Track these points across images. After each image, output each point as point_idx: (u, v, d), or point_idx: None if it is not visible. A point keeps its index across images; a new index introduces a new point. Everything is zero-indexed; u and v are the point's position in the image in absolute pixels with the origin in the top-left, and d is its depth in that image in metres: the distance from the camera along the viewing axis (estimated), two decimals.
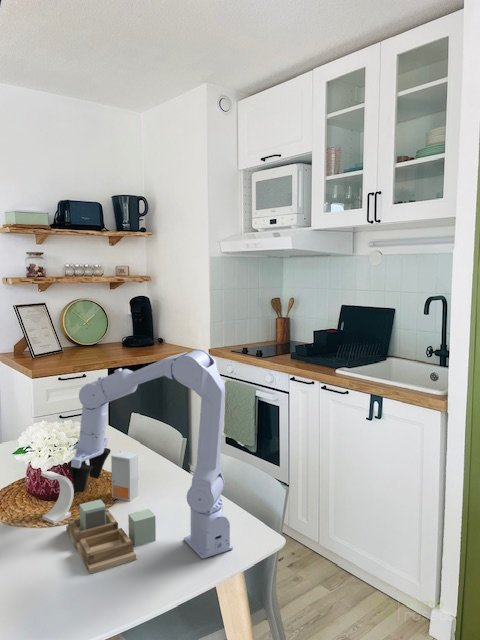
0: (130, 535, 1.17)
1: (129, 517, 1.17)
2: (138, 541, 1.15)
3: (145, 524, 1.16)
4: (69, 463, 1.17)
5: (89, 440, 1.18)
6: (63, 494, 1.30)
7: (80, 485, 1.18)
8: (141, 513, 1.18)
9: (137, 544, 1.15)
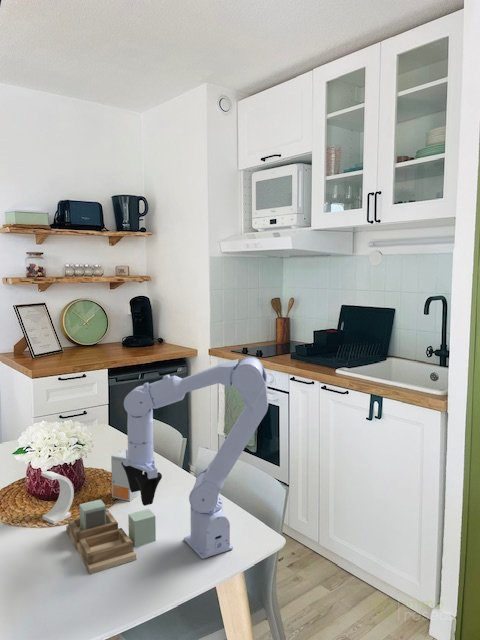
0: (130, 535, 1.17)
1: (129, 517, 1.17)
2: (138, 541, 1.15)
3: (145, 524, 1.16)
4: (140, 478, 1.10)
5: (148, 449, 1.13)
6: (63, 494, 1.30)
7: (150, 497, 1.13)
8: (141, 513, 1.18)
9: (137, 544, 1.15)
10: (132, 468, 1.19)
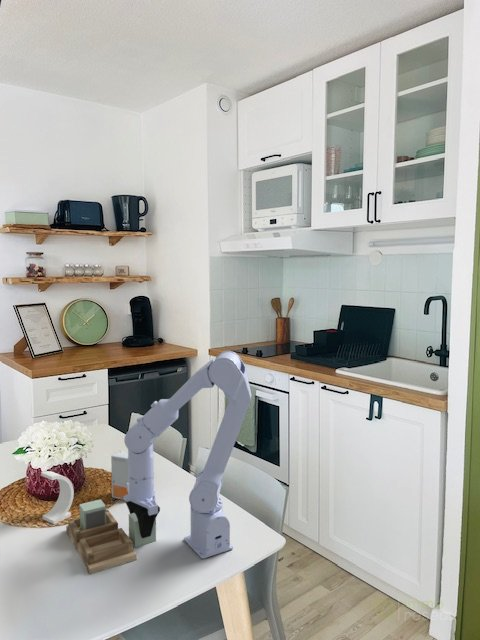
0: (130, 535, 1.17)
1: (129, 517, 1.17)
2: (138, 541, 1.15)
3: None
4: (139, 512, 1.12)
5: (148, 484, 1.14)
6: (63, 494, 1.30)
7: (148, 529, 1.15)
8: None
9: (137, 544, 1.15)
10: (135, 504, 1.19)
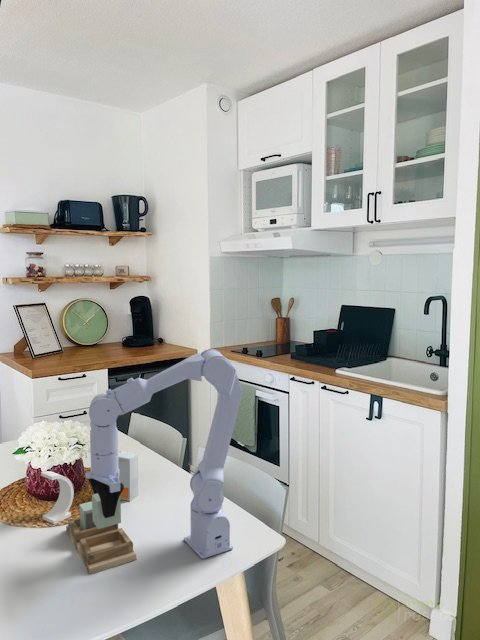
0: (94, 517, 1.10)
1: (92, 498, 1.10)
2: (101, 523, 1.08)
3: None
4: (100, 489, 1.05)
5: (111, 460, 1.07)
6: (63, 494, 1.30)
7: (111, 509, 1.08)
8: None
9: (100, 526, 1.08)
10: (98, 482, 1.11)
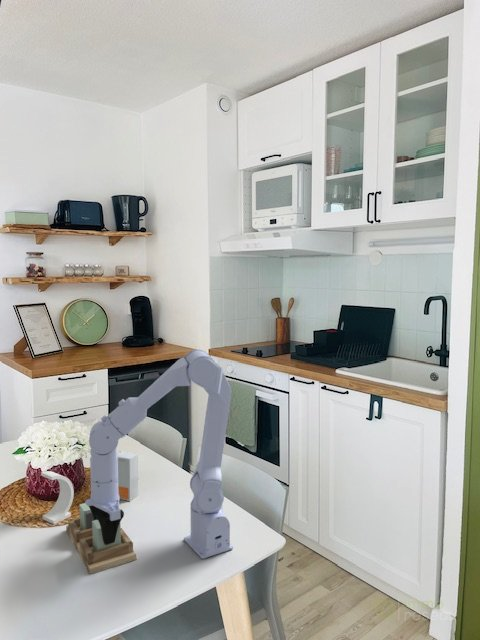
0: (94, 543, 1.10)
1: (93, 524, 1.10)
2: None
3: None
4: (100, 517, 1.05)
5: (111, 487, 1.08)
6: (63, 494, 1.30)
7: (111, 535, 1.08)
8: None
9: None
10: (98, 508, 1.12)
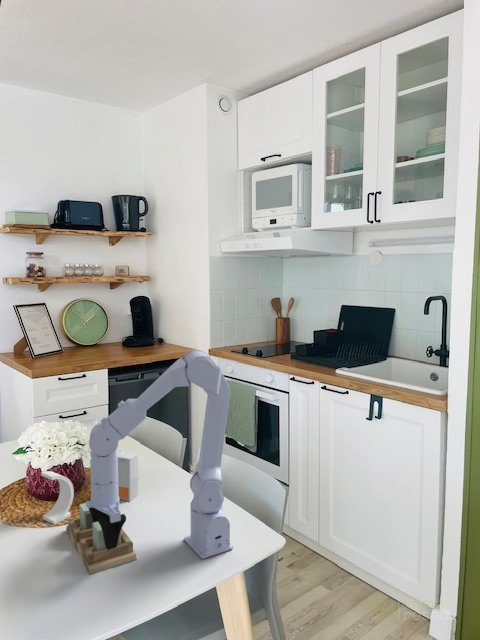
0: (94, 545, 1.10)
1: (93, 526, 1.10)
2: None
3: None
4: (102, 522, 1.04)
5: (111, 489, 1.08)
6: (63, 494, 1.30)
7: (113, 540, 1.07)
8: None
9: None
10: None
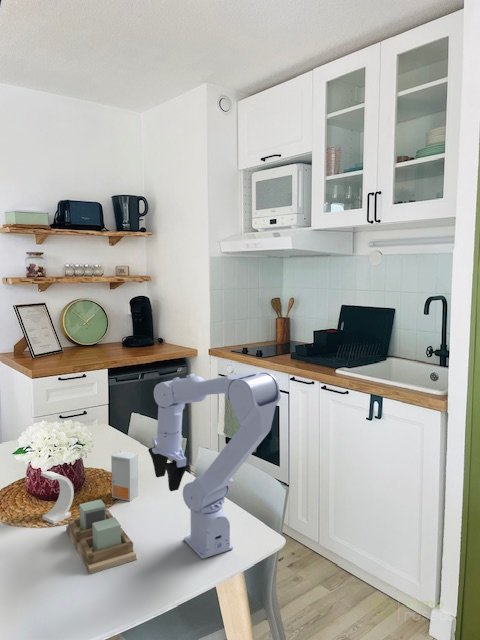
0: (94, 545, 1.10)
1: (93, 526, 1.10)
2: None
3: (110, 534, 1.09)
4: (170, 466, 1.17)
5: (177, 438, 1.20)
6: (63, 494, 1.30)
7: (176, 483, 1.20)
8: (106, 522, 1.11)
9: None
10: (158, 455, 1.25)
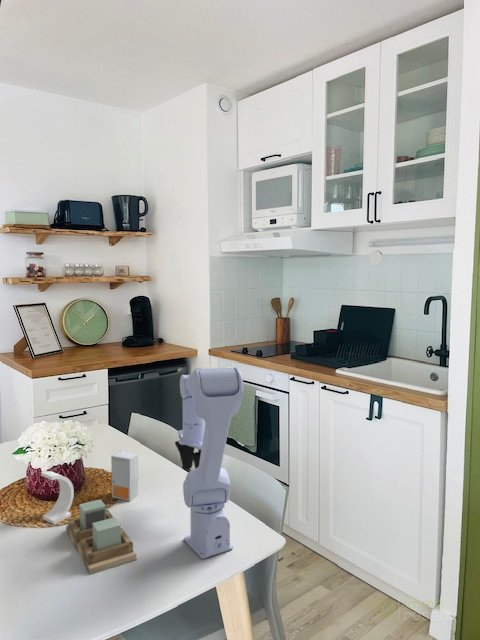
0: (94, 545, 1.10)
1: (93, 526, 1.10)
2: None
3: (110, 534, 1.09)
4: (196, 455, 1.23)
5: (201, 429, 1.26)
6: (63, 494, 1.30)
7: None
8: (106, 522, 1.11)
9: None
10: (185, 447, 1.32)
